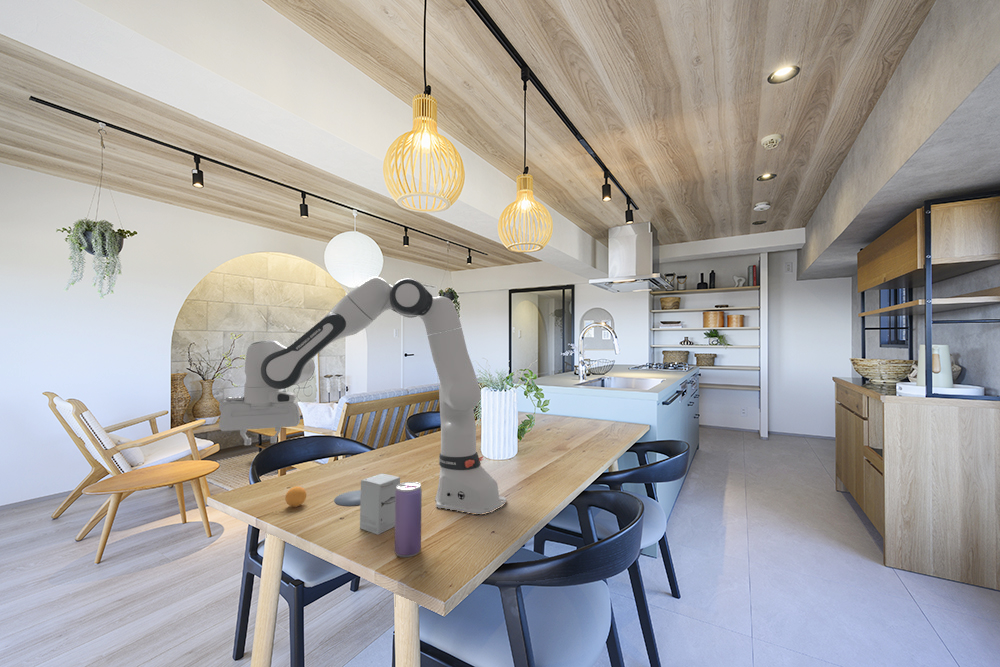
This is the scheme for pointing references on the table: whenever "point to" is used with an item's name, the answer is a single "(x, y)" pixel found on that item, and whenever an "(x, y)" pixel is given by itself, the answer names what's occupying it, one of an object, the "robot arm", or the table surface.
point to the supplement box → (378, 503)
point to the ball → (295, 496)
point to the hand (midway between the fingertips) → (260, 443)
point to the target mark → (349, 498)
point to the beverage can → (408, 519)
